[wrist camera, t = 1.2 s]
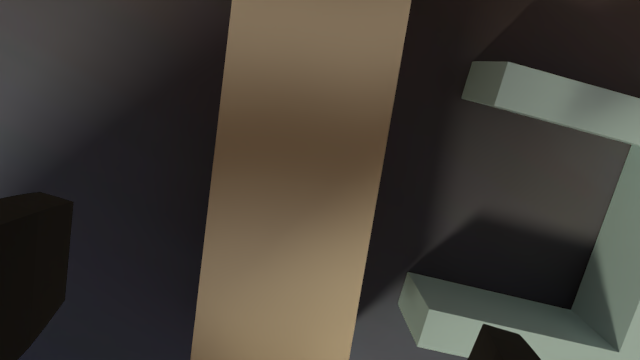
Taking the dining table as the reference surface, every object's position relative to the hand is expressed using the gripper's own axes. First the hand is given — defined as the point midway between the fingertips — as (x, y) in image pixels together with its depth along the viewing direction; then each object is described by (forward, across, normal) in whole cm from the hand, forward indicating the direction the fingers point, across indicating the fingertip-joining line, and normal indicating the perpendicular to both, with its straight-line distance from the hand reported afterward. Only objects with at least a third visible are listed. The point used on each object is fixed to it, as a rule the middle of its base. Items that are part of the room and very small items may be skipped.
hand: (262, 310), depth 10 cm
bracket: (+10, -6, +1) cm, 12 cm away
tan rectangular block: (+10, +1, 0) cm, 10 cm away
